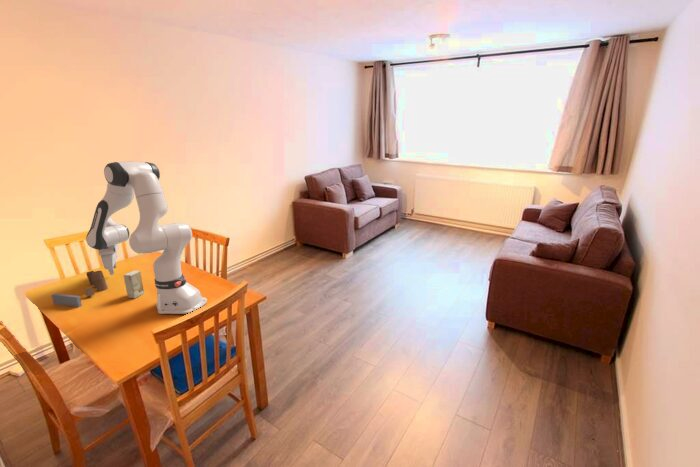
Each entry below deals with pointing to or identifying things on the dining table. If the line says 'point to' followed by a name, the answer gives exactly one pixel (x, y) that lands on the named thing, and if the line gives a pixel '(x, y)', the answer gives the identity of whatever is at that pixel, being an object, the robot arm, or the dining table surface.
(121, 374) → the dining table surface
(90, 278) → the wooden block set
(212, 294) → the dining table surface
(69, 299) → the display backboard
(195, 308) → the robot arm
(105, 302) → the dining table surface
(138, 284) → the skincare box
